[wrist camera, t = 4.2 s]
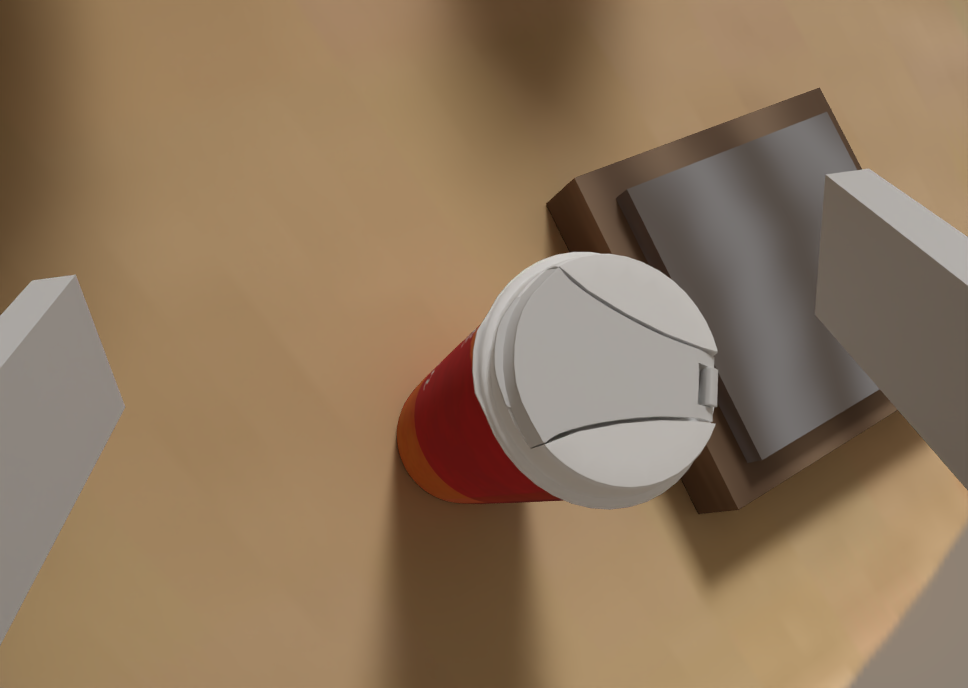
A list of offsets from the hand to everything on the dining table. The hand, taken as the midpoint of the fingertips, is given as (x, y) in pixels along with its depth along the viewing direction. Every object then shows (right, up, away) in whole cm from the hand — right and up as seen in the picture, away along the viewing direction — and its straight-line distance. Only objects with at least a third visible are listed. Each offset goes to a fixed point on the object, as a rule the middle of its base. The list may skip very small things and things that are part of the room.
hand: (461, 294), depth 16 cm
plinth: (+13, +2, +29) cm, 32 cm away
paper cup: (-1, -5, +22) cm, 23 cm away
